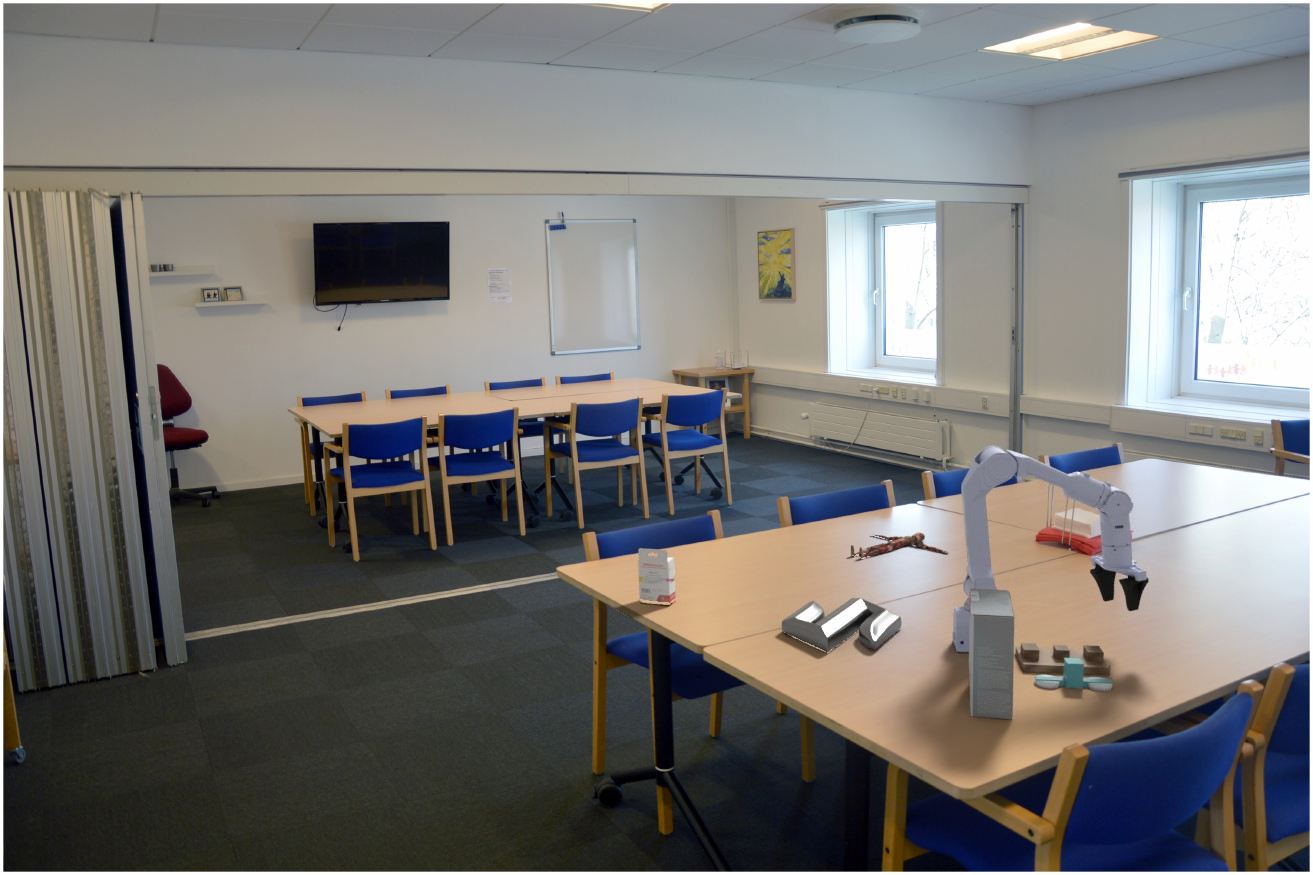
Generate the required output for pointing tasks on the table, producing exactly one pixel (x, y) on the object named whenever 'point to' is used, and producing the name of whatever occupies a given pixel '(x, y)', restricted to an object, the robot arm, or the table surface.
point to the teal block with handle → (1073, 678)
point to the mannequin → (896, 545)
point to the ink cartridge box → (656, 576)
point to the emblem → (842, 624)
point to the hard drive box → (991, 653)
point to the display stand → (1061, 658)
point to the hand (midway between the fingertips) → (1120, 605)
